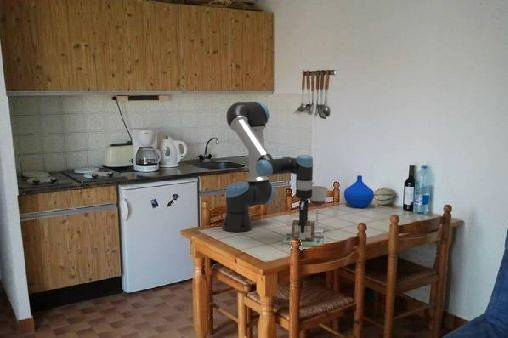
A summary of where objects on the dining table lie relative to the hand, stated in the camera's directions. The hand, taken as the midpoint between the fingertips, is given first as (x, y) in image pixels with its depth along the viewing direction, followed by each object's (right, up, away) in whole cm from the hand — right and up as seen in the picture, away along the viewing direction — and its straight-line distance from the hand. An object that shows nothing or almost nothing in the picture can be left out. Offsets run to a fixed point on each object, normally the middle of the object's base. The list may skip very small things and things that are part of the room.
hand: (303, 237), depth 215 cm
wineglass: (+9, +1, +19) cm, 21 cm away
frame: (0, 0, 0) cm, 0 cm away
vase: (+42, +9, +70) cm, 82 cm away
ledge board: (0, -2, 0) cm, 2 cm away
